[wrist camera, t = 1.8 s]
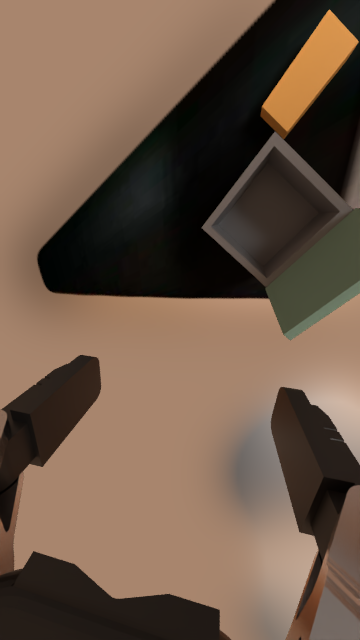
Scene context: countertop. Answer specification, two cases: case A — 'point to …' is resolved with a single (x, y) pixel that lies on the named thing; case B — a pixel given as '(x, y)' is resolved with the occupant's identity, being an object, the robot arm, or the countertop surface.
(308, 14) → the countertop surface
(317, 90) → the orange rectangular block
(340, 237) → the lid
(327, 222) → the storage box
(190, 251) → the countertop surface
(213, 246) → the countertop surface
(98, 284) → the countertop surface
